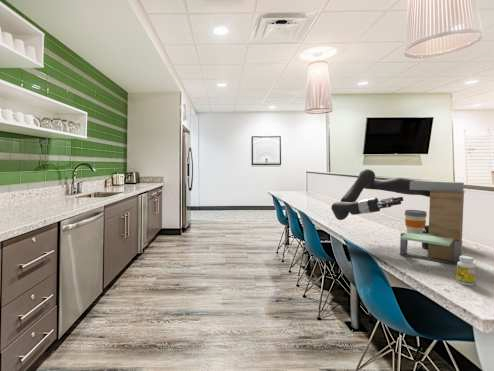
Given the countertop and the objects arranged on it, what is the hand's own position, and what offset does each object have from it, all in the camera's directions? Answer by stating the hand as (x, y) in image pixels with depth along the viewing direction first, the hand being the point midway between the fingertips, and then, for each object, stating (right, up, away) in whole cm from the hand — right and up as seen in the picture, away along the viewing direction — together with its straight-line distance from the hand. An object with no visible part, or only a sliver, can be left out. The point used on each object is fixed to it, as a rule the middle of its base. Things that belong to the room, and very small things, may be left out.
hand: (401, 200), depth 143 cm
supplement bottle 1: (+19, -26, +8) cm, 34 cm away
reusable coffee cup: (+32, -25, +44) cm, 60 cm away
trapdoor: (+2, -17, -16) cm, 23 cm away
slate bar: (+12, +5, -8) cm, 15 cm away
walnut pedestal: (+15, -27, -9) cm, 32 cm away
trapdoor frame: (+7, -27, -11) cm, 30 cm away
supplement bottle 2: (+2, -29, -39) cm, 48 cm away
